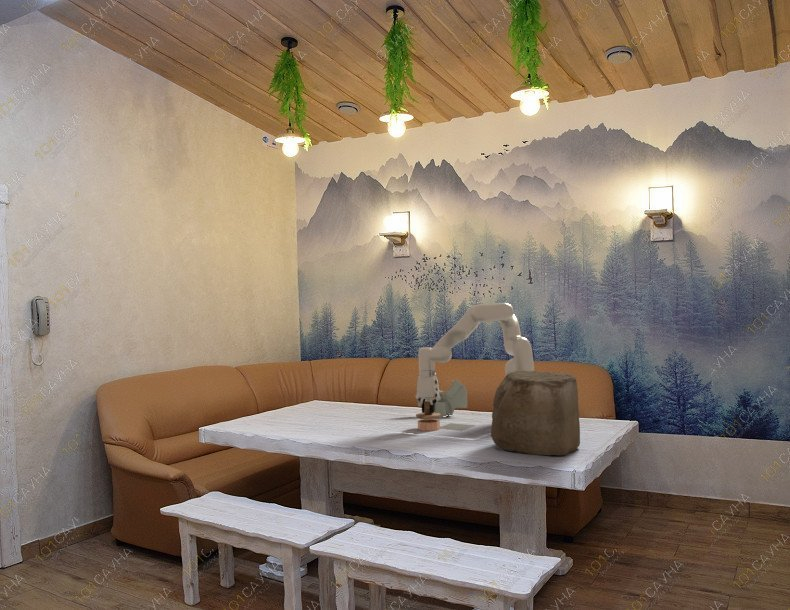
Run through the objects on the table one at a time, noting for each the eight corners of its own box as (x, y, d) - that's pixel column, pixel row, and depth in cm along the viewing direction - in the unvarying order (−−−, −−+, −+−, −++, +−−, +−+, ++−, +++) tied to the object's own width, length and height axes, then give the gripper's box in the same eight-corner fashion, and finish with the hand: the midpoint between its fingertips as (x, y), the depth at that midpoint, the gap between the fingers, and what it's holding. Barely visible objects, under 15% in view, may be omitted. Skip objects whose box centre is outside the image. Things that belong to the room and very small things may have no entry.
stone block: (478, 450, 256) (476, 375, 255) (507, 437, 275) (505, 368, 274) (560, 462, 234) (558, 381, 234) (585, 447, 254) (583, 372, 253)
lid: (445, 415, 301) (444, 400, 301) (432, 419, 292) (432, 404, 292) (424, 414, 308) (423, 399, 308) (411, 418, 298) (410, 402, 299)
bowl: (443, 429, 301) (443, 419, 301) (432, 433, 293) (432, 423, 293) (425, 427, 307) (425, 418, 307) (414, 431, 299) (413, 421, 299)
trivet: (476, 427, 305) (476, 425, 305) (462, 432, 293) (461, 430, 293) (450, 424, 313) (450, 423, 313) (436, 429, 301) (435, 428, 301)
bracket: (469, 416, 335) (468, 378, 335) (465, 418, 329) (464, 379, 329) (420, 414, 346) (419, 377, 346) (416, 416, 340) (414, 379, 340)
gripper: (446, 373, 298) (447, 412, 298) (416, 372, 308) (417, 410, 308) (438, 375, 292) (439, 415, 292) (408, 373, 302) (409, 412, 302)
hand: (428, 412), depth 300 cm, fingers closed on lid, 3 cm apart
